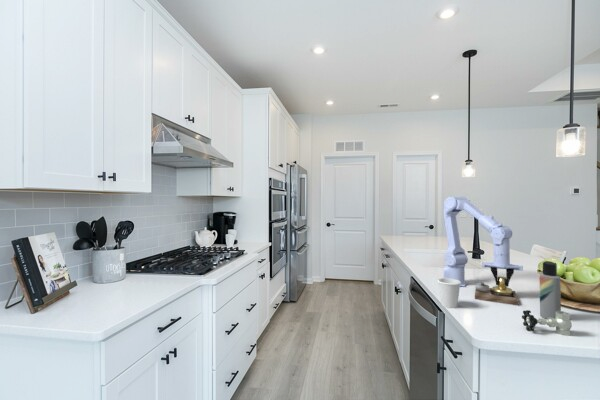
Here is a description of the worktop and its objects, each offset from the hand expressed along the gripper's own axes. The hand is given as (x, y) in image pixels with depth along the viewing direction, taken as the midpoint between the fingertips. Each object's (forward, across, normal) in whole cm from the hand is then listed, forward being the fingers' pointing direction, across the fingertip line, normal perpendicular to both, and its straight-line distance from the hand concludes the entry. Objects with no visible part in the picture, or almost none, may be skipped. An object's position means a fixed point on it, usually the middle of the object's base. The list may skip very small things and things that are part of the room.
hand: (502, 285), depth 127 cm
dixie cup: (+5, -18, -23) cm, 30 cm away
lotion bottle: (+5, +14, -18) cm, 23 cm away
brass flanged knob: (+3, 0, 0) cm, 3 cm away
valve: (+5, +11, -33) cm, 35 cm away
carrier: (+5, -2, -1) cm, 6 cm away
